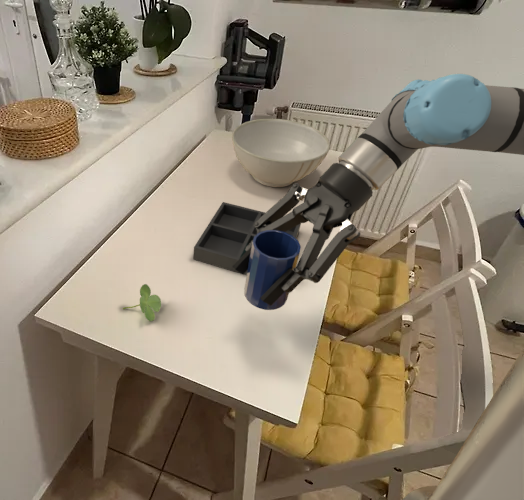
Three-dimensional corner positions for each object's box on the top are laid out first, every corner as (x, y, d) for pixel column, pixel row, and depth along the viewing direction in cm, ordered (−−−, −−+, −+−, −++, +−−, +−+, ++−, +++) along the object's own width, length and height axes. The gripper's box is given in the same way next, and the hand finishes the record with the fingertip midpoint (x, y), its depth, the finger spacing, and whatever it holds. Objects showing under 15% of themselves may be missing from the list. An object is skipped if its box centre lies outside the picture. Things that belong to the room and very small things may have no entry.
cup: (295, 301, 72) (310, 251, 65) (260, 315, 69) (271, 265, 62) (270, 274, 77) (281, 225, 69) (236, 287, 74) (243, 237, 67)
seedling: (139, 325, 89) (165, 318, 86) (115, 328, 82) (143, 321, 79) (132, 291, 90) (158, 283, 87) (108, 292, 83) (135, 283, 80)
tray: (280, 285, 92) (283, 273, 89) (193, 259, 98) (193, 247, 95) (298, 233, 106) (301, 221, 103) (221, 213, 112) (222, 201, 109)
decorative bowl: (327, 204, 116) (338, 164, 108) (227, 197, 117) (232, 157, 110) (312, 157, 136) (321, 121, 128) (228, 152, 138) (232, 115, 130)
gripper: (416, 222, 60) (300, 335, 65) (319, 159, 74) (230, 256, 79) (402, 199, 55) (278, 324, 60) (301, 136, 69) (207, 241, 74)
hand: (251, 285), depth 69 cm, fingers closed on cup, 7 cm apart
